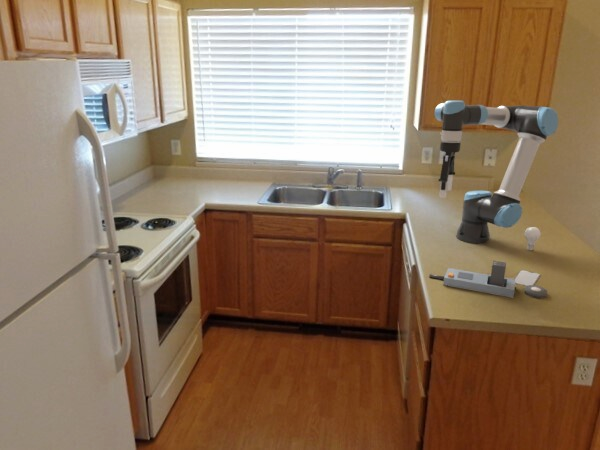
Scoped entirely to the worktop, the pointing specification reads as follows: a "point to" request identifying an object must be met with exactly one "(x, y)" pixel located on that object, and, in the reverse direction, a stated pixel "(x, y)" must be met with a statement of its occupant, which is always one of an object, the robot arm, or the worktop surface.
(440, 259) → the worktop surface
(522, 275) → the smartphone
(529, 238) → the lightbulb
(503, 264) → the brick
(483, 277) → the power strip
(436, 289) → the worktop surface
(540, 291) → the grey disc with dome
